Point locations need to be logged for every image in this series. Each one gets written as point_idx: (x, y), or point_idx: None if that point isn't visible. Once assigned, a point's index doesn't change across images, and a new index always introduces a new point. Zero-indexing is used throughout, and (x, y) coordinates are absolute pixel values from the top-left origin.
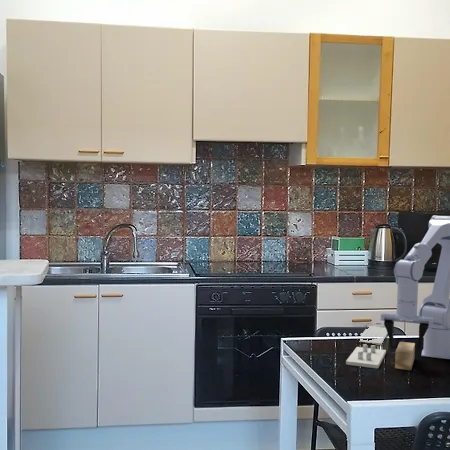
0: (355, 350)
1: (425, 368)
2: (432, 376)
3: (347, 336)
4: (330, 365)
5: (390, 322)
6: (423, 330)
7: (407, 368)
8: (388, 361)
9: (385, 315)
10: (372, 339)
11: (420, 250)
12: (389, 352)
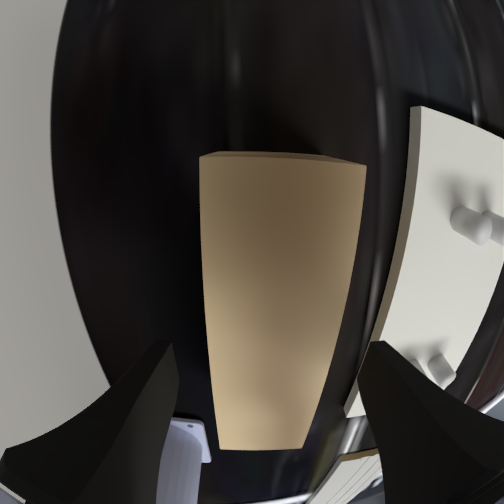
0: (464, 350)
1: (144, 236)
2: (101, 78)
3: None
4: None
5: (470, 499)
6: (44, 456)
7: (243, 151)
8: (353, 295)
9: None
10: (358, 472)
11: None
12: (326, 421)
